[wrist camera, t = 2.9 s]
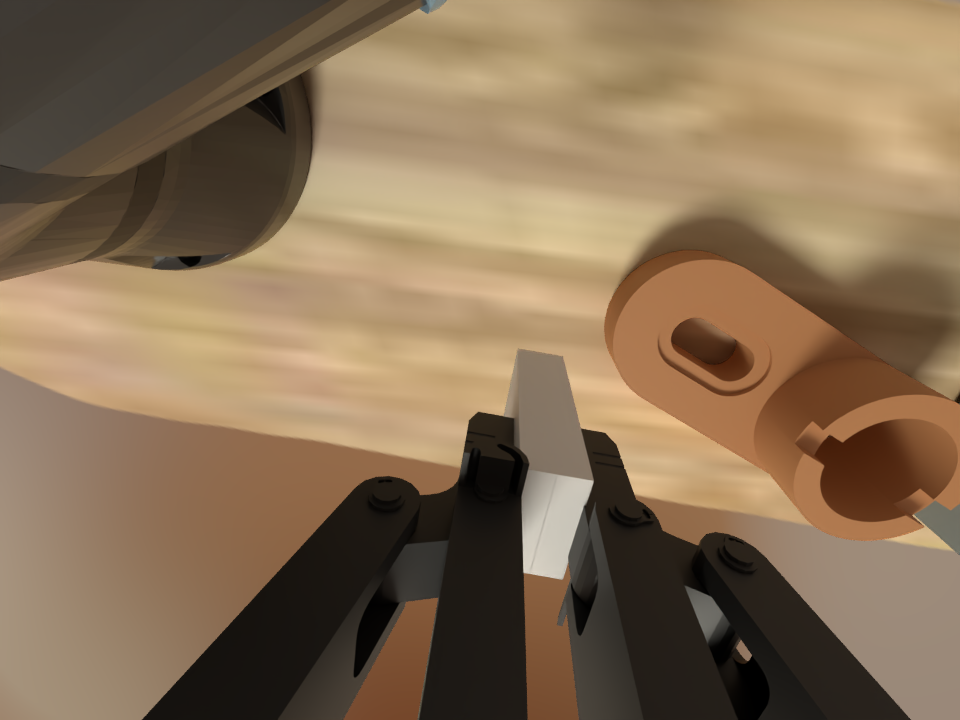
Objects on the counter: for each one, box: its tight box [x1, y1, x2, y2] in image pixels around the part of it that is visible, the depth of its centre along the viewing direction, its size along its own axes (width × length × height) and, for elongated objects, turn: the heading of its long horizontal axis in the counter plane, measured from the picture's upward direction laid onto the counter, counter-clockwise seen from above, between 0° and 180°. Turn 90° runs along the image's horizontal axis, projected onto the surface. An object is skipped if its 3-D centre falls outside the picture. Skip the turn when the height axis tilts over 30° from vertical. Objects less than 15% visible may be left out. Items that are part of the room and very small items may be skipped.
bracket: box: [604, 250, 960, 541], centre depth 25 cm, size 18×8×7 cm, turn 59°
